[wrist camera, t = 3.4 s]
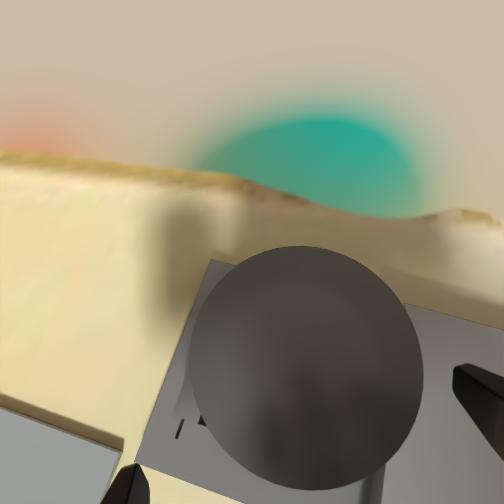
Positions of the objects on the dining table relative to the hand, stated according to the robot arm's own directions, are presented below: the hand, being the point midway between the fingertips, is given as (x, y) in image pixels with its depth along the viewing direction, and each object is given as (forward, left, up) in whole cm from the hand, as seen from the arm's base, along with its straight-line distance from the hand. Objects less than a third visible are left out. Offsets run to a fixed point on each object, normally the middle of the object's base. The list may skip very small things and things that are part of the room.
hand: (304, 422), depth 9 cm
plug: (+1, +1, -9) cm, 9 cm away
